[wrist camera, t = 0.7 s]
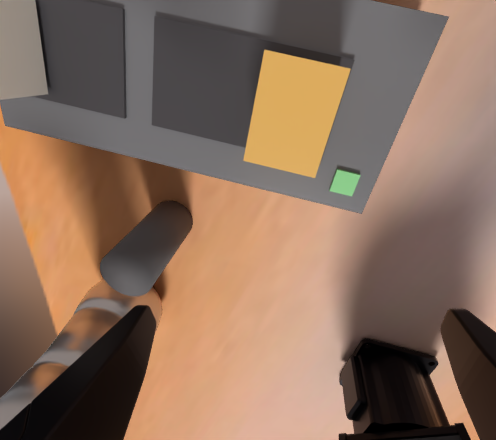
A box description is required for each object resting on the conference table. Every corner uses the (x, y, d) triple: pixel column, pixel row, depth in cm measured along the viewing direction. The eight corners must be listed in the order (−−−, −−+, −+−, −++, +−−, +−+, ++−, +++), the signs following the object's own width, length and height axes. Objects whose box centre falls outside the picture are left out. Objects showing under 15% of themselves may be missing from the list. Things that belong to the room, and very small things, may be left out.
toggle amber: (340, 67, 12) (350, 68, 10) (312, 157, 14) (314, 178, 12) (272, 52, 13) (264, 49, 10) (254, 143, 15) (243, 160, 12)
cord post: (194, 206, 22) (153, 260, 16) (190, 240, 24) (151, 302, 18) (154, 196, 22) (98, 246, 16) (153, 231, 24) (101, 288, 18)
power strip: (414, 27, 15) (451, 15, 11) (351, 186, 19) (362, 215, 16) (6, -59, 16) (-81, -96, 12) (34, 109, 20) (-24, 119, 17)
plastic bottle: (104, 254, 26) (-302, 645, 8) (176, 279, 26) (-84, 721, 8) (101, 304, 29) (-198, 661, 12) (165, 326, 29) (-39, 716, 12)
